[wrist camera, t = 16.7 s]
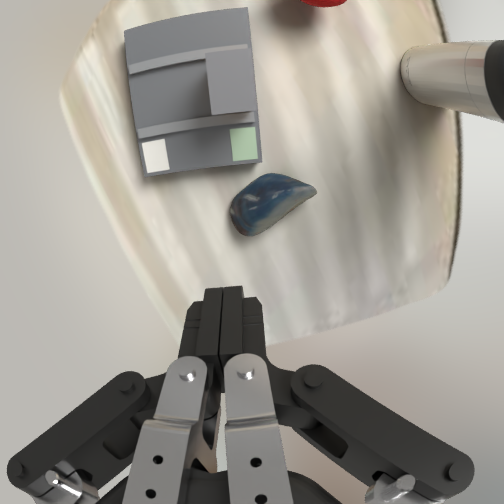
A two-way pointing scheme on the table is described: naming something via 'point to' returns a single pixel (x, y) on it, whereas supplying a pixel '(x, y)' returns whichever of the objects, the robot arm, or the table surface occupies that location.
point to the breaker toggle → (231, 81)
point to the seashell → (267, 202)
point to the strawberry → (324, 2)
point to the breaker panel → (187, 93)
